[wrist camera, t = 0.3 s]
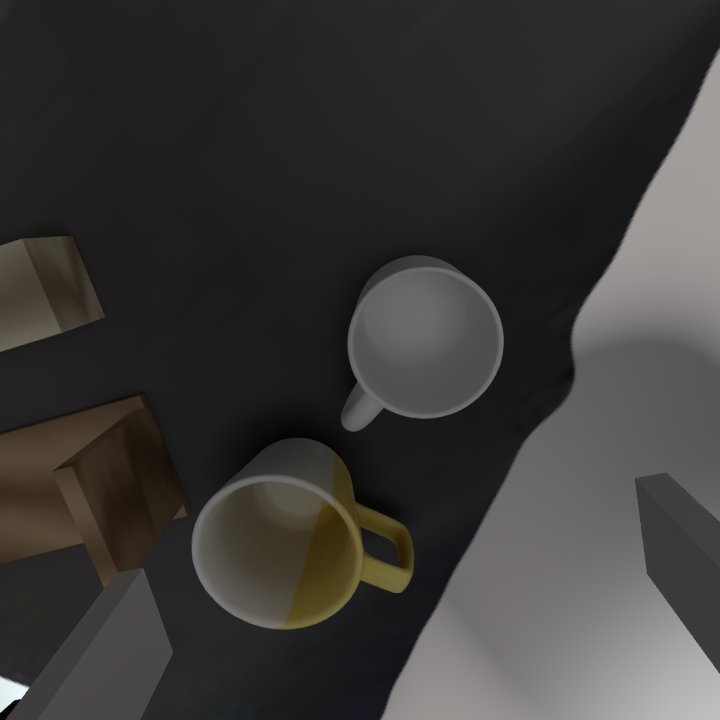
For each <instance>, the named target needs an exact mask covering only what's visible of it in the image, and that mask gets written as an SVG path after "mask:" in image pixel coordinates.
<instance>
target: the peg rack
mask: <svg viewBox="0 0 720 720" xmlns="http://www.w3.org/2000/svg"><path fill="white" fill-rule="evenodd" d="M190 512H191V509H190V507H189V504H188V502H187V499H186V497H185V494H184V492H183V489H182V487H181V484H180V482H179V479H178V476H177V474H176V471H175V469H174V466H173V464H172V461H171V459H170V456H169V454H168V451H167V449H166V446H165V444H164V441H163V439H162V436H161V433H160V431H159V428H158V426H157V423H156V421H155V418H154V416H153V413H152V411H151V408H150V406H149V403H148V401H147V398H146V396H145V393H140V394H136V395H133V396H129V397H126V398H122V399H119V400H115V401H112V402H108V403H105V404H101V405H98V406H94V407H91V408H87V409H83V410H80V411H76V412H73V413H69V414H66V415H62V416H59V417H55V418H52V419H48V420H45V421H41V422H38V423H34V424H31V425H27V426H23V427H20V428H16V429H13V430H9V431H6V432H2V433H0V564H2V563H6V562H9V561H13V560H17V559H21V558H25V557H29V556H33V555H37V554H41V553H45V552H49V551H53V550H56V549H60V548H64V547H68V546H72V545H76V544H80V543H84V544H85V546H86V548H87V550H88V553H89V555H90V557H91V559H92V562H93V564H94V566H95V568H96V571H97V573H98V575H99V577H100V580H101V582H102V584H103V586H104V588H106V586H107V585H108V584H109V582H110V581H111V580H112V578H113V577H114V576H115V574H116V573H118V572H123V571H129V570H134V569H138V567H139V566H140V565H141V563H142V562H143V560H144V559H145V558H146V556H147V555H148V553H149V552H150V551H151V549H152V548H153V546H154V545H155V543H156V542H157V541H158V539H159V538H160V536H161V535H162V534H163V532H164V531H165V529H166V528H167V527H168V525H169V524H170V522H171V521H172V520H174V519H178V518H182V517H186V516H188V515H189V513H190Z"/></svg>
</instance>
